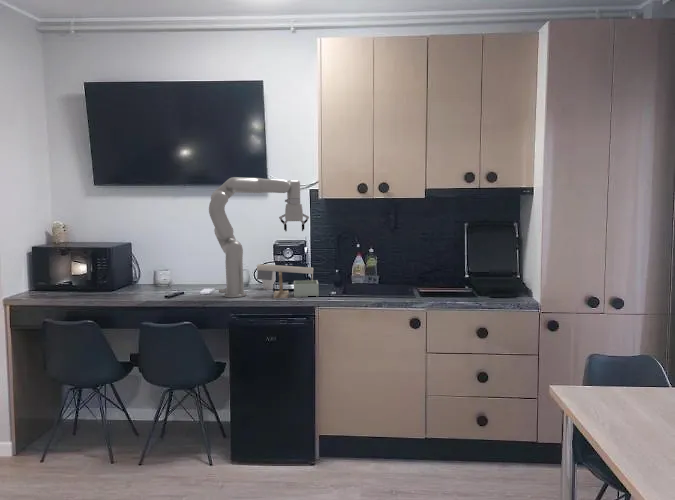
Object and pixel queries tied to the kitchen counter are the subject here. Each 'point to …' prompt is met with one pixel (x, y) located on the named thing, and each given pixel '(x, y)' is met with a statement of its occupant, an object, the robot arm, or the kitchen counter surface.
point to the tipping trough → (266, 270)
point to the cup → (306, 288)
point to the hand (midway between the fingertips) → (294, 231)
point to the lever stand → (281, 289)
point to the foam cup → (269, 282)
